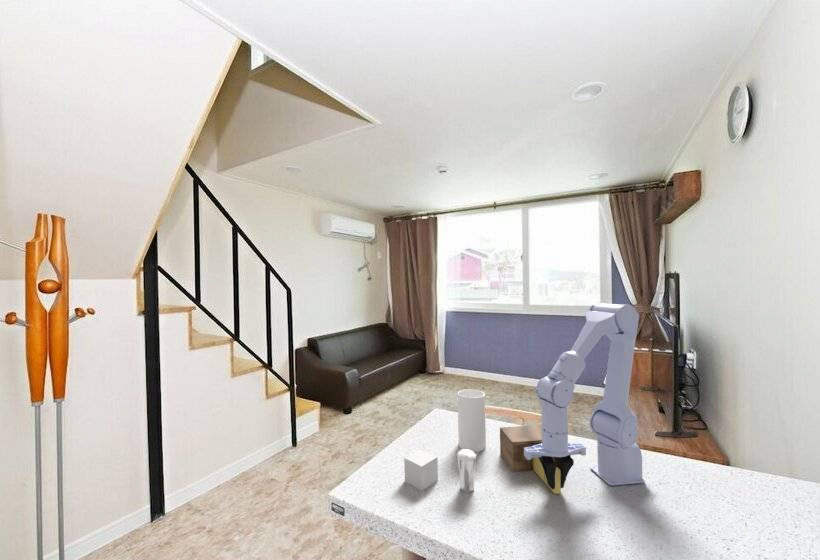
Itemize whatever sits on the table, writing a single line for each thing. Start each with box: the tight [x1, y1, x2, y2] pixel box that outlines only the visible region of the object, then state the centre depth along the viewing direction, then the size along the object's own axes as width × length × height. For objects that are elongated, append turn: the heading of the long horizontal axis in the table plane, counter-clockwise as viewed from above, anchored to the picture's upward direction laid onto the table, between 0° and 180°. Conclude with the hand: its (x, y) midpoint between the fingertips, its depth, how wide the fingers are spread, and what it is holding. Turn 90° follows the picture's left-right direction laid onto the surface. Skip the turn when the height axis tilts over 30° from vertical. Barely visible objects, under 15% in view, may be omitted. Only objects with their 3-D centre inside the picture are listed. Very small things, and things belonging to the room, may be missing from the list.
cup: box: [457, 388, 487, 453], centre depth 105 cm, size 8×8×16 cm
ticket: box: [531, 458, 562, 495], centre depth 88 cm, size 2×14×6 cm, turn 6°
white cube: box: [403, 449, 439, 492], centre depth 87 cm, size 6×6×6 cm
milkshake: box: [456, 449, 480, 493], centre depth 84 cm, size 4×5×10 cm
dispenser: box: [499, 424, 555, 473], centre depth 95 cm, size 13×10×8 cm
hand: (555, 486), depth 82 cm, fingers closed on ticket, 2 cm apart
